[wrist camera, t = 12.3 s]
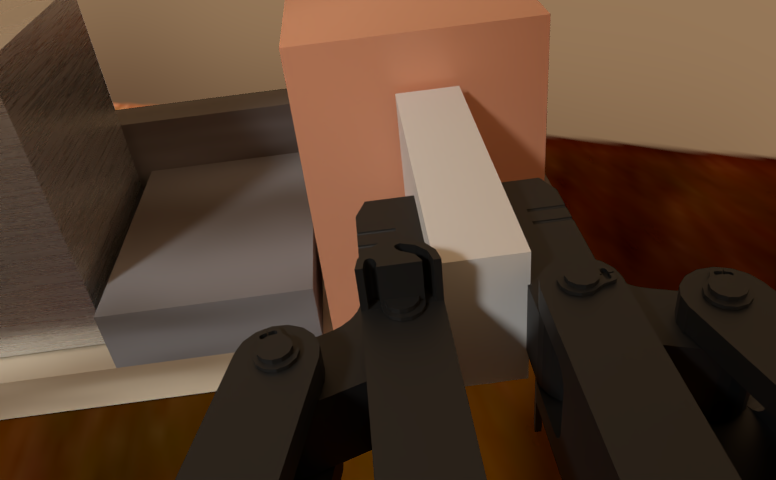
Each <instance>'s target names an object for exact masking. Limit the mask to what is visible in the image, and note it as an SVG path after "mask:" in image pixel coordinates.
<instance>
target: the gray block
mask: <svg viewBox="0 0 776 480" xmlns="http://www.w3.org/2000/svg"><path fill="white" fill-rule="evenodd" d="M143 192H144V191H143V188H142V185H141V183H140V180H139V177H138V174H137V171H136V168H135V165H134V163H133V160H132V157H131V154H130V151H129V148H128V145H127V143H126V140H125V137H124V134H123V131H122V128H121V125H120V123H119V120H118V117H117V114H116V111H115V108H114V105H113V103H112V100H111V97H110V94H109V91H108V88H107V85H106V83H105V80H104V77H103V74H102V71H101V68H100V66H99V63H98V60H97V57H96V54H95V51H94V48H93V45H92V43H91V40H90V37H89V34H88V31H87V28H86V26H85V23H84V20H83V17H82V14H81V11H80V8H79V5H78V3H77V0H0V358H1V357H9V356H17V355H24V354H32V353H39V352H47V351H54V350H62V349H70V348H77V347H85V346H92V345H100V344H105V342H104V340H103V337H102V335H101V333H100V331H99V329H98V326H97V324H96V322H95V320H94V315H95V313H96V310H97V308H98V305H99V303H100V300H101V298H102V295H103V293H104V290H105V288H106V285H107V283H108V280H109V278H110V275H111V273H112V270H113V268H114V265H115V263H116V260H117V258H118V255H119V253H120V250H121V247H122V245H123V242H124V240H125V237H126V235H127V232H128V230H129V227H130V225H131V222H132V220H133V217H134V215H135V212H136V210H137V207H138V205H139V202H140V200H141V197H142V195H143Z"/></svg>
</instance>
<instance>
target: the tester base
mask: <svg viewBox="0 0 776 480" xmlns="http://www.w3.org/2000/svg"><path fill="white" fill-rule="evenodd" d="M115 111H116V114H117V117H118V120H119V123H120V125H121V128H122V131H123V134H124V137H125V140H126V143H127V145H128V148H129V151H130V154H131V157H132V160H133V163H134V165H135V168H136V171H137V174H138V177H139V180H140V183H141V185H142V188H143V191H144V192H143V195H142V197H141V200H140V202H139V205H138V207H137V210H136V212H135V215H134V217H133V220H132V222H131V225H130V227H129V230H128V232H127V235H126V237H125V240H124V242H123V245H122V247H121V250H120V253H119V255H118V258H117V260H116V263H115V265H114V268H113V270H112V273H111V275H110V278H109V280H108V283H107V285H106V288H105V290H104V293H103V295H102V298H101V300H100V303H99V305H98V308H97V310H96V313H95V315H94V320H95V322H96V324H97V326H98V329H99V331H100V333H101V335H102V337H103V340H104V342H105V344H100V345H92V346H85V347H77V348H70V349H62V350H54V351H47V352H39V353H32V354H24V355H17V356H9V357H1V358H0V420H4V419H11V418H19V417H26V416H34V415H41V414H49V413H56V412H64V411H71V410H79V409H86V408H94V407H101V406H109V405H116V404H124V403H131V402H139V401H146V400H154V399H162V398H169V397H177V396H184V395H192V394H199V393H207V392H214V391H217V389H218V387H219V385H220V383H221V380H222V378H223V376H224V374H225V372H226V370H227V368H228V365H229V363H230V361H231V359H232V357H233V355H234V353H235V351H236V350H237V349H238V347H239V346H240V345H241V343H242V342H243V341H244V340H246V339H247V338H248V337H250V336H251V335H253V334H254V333H256V332H258V331H261V330H263V329H266V328H269V327H271V326H280V325H292V326H298V327H303V328H305V329H306V330H308V331H309V332H311V333H313V334H314V335H315V337H317V336H320V335H323V334H325V333H328V332H330V331H332V330H333V326H332V321H331V316H330V311H329V305H328V300H327V295H326V290H325V285H324V279H323V274H322V269H321V264H320V259H319V253H318V248H317V243H316V238H315V233H314V227H313V222H312V217H311V212H310V207H309V201H308V196H307V191H306V186H305V181H304V176H303V170H302V165H301V160H300V155H299V150H298V144H297V139H296V134H295V129H294V124H293V118H292V113H291V108H290V103H289V98H288V92H287V89H280V90H272V91H264V92H256V93H248V94H240V95H232V96H225V97H216V98H208V99H201V100H193V101H185V102H177V103H169V104H161V105H153V106H145V107H137V108H130V109H122V110H115ZM544 181H545V182H546V183H548V184H549V185H551V184H550V182H549V180H548V178H547V177H546V175H545V178H544Z"/></svg>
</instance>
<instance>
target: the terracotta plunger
mask: <svg viewBox="0 0 776 480" xmlns="http://www.w3.org/2000/svg"><path fill="white" fill-rule="evenodd" d="M549 40H550V13H549V12H548V11H547V10H546V9H545V8H544V7H543V5H542V4H541V3H540V2H539V1H538V0H285V4H284V13H283V20H282V29H281V37H280V44H279V50H280V56H281V61H282V66H283V72H284V76H285V82H286V87H287V92H288V98H289V103H290V108H291V113H292V118H293V124H294V129H295V134H296V139H297V144H298V150H299V155H300V160H301V165H302V170H303V176H304V181H305V186H306V191H307V196H308V201H309V207H310V212H311V217H312V222H313V227H314V233H315V238H316V243H317V248H318V253H319V259H320V264H321V269H322V274H323V279H324V285H325V290H326V295H327V300H328V305H329V311H330V316H331V321H332V326H333V330H335V329H337V328H339V327H341V326H342V325H344V324H345V323H346V322H348V321H349V320H350V319H351V318H352V317H353V316H354V315H355V314H356V312H357V311H358V309H359V307H360V302H359V295H358V289H357V283H356V277H355V270H354V269H355V265H356V261H357V259H358V258H359V254H358V242H357V229H356V215H357V214H358V212H359V210H360V209H361V207H362V205H363V204H364V202H366V201H374V200H381V199H389V198H397V197H405V189H404V179H403V169H402V159H401V149H400V139H399V129H398V118H397V108H396V98H395V94H397V93H405V92H413V91H421V90H429V89H437V88H445V87H453V86H460V89H461V91H462V93H463V96H464V98H465V100H466V103H467V105H468V107H469V109H470V112H471V114H472V116H473V119H474V121H475V123H476V126H477V128H478V130H479V133H480V135H481V137H482V139H483V142H484V144H485V146H486V149H487V151H488V153H489V156H490V158H491V160H492V162H493V165H494V167H495V169H496V172H497V174H498V176H499V179H500V181H501V182H508V181H516V180H524V179H532V178H540V179H542V180H543V181H544V178H545V151H546V123H547V94H548V69H549Z"/></svg>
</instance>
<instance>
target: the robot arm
mask: <svg viewBox="0 0 776 480" xmlns="http://www.w3.org/2000/svg"><path fill="white" fill-rule="evenodd" d="M395 98H396V108H397V118H398V129H399V139H400V149H401V159H402V169H403V179H404V189H405V197H397V198H389V199H381V200H374V201H366V202H364V204H363V205H362V207H361V209H360V210H359V212H358V214H357V215H356V229H357V242H358V254H359V258H358V259H357V261H356V265H355V269H354V270H355V277H356V283H357V289H358V295H359V302H360V307H359V309H358V311H357V312H356V314H355V315H354V316H353V317H352V318H351V319H350V320H349V321H348V322H346V323H345V324H344V325H342V326H341V327H339V328H337V329H335V330H332V331H330V332H328V333H325V334H323V335H320V336H317V337H315V335H314V334H313V333H311V332H309V331H308V330H306V329H305V328H303V327H298V326H292V325H280V326H271V327H269V328H266V329H263V330H261V331H258V332H256V333H254V334H253V335H251V336H250V337H248V338H247V339H246V340H244V341H243V342H242V343H241V345H240V346H239V347H238V349H237V350H236V351H235V353H234V355H233V357H232V359H231V361H230V363H229V365H228V368H227V370H226V372H225V374H224V376H223V378H222V380H221V383H220V385H219V387H218V389H217V391H216V393H215V395H214V398H213V400H212V402H211V404H210V406H209V408H208V410H207V413H206V415H205V417H204V419H203V421H202V423H201V425H200V428H199V430H198V432H197V434H196V436H195V438H194V440H193V443H192V445H191V447H190V449H189V451H188V453H187V455H186V458H185V460H184V462H183V464H182V466H181V468H180V470H179V473H178V475H177V477H176V479H175V480H341V477H342V473H343V462H345V461H347V460H350V459H352V458H354V457H356V456H359V455H361V454H363V453H365V452H368V451H370V450H372V454H373V467H374V479H375V480H487V479H486V475H485V471H484V466H483V462H482V458H481V454H480V449H479V445H478V441H477V437H476V432H475V428H474V424H473V420H472V416H471V411H470V407H469V403H468V399H467V394H466V390H465V386H471V385H479V384H486V383H494V382H501V381H509V380H517V379H524V378H528V363H529V359H530V362H531V365H532V368H533V371H534V373H535V376H536V379H535V410H534V427H535V432H539V431H541V427H542V421H543V424H544V427H545V430H546V433H547V436H548V439H549V442H550V445H551V448H552V451H553V454H554V457H555V460H556V463H557V466H558V469H559V472H560V475H561V478H562V480H776V291H775V290H773V289H772V288H771V287H769V286H768V285H767V284H765V283H764V282H763V281H761V280H759V279H757V278H756V277H754V276H752V275H750V274H748V273H745V272H742V271H738V270H735V269H731V268H720V267H710V268H703V269H697V270H695V271H693V272H691V273H689V274H688V275H686V276H685V277H684V279H683V280H682V282H681V283H680V285H679V291H673V290H662V289H650V288H643V287H637V286H633V285H630V284H627V283H626V282H625V280H624V278H623V277H622V276H621V275H620V273H619V272H618V271H617V270H616V269H615V268H614V267H612V266H610V265H608V264H606V263H604V262H602V261H599V260H596V259H595V258H594V256H593V254H592V252H591V250H590V249H589V247H588V245H587V243H586V241H585V240H584V238H583V236H582V234H581V232H580V231H579V229H578V227H577V225H576V223H575V222H574V220H572V216H571V214H570V213H569V211H568V209H567V207H565V204H564V202H563V200H562V198H561V196H560V195H559V193H558V191H557V189H555V188H554V187H552V186H551V185H549V184H548V183H546V182H545V181H543V180H542V179H540V178H532V179H524V180H516V181H508V182H501V181H500V179H499V176H498V174H497V172H496V169H495V167H494V165H493V162H492V160H491V158H490V156H489V153H488V151H487V149H486V146H485V144H484V142H483V139H482V137H481V135H480V133H479V130H478V128H477V126H476V123H475V121H474V119H473V116H472V114H471V112H470V109H469V107H468V105H467V103H466V100H465V98H464V96H463V93H462V91H461V89H460V86H453V87H445V88H437V89H429V90H421V91H413V92H405V93H397V94H395Z"/></svg>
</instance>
